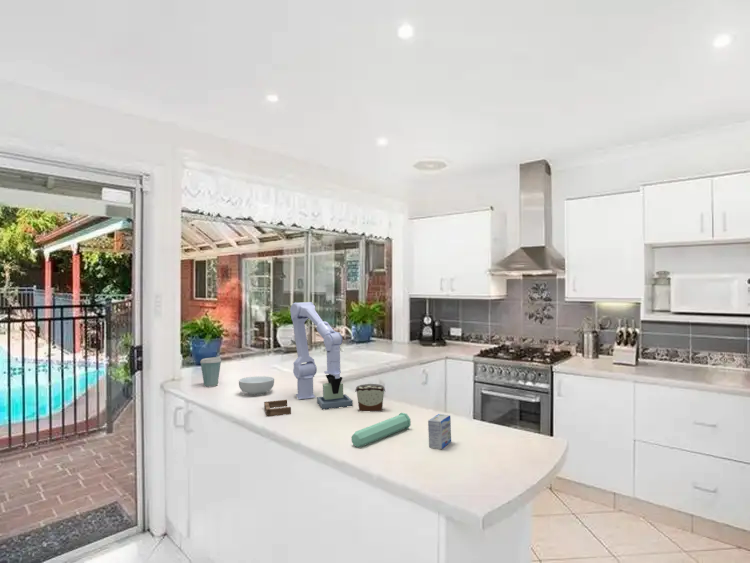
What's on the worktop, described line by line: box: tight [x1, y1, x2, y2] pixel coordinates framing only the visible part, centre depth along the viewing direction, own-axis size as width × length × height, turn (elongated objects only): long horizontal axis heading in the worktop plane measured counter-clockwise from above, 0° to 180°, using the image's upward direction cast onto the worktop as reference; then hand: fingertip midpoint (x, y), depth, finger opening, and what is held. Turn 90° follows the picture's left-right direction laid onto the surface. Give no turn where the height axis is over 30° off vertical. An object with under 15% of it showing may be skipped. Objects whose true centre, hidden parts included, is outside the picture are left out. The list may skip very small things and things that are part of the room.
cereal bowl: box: [238, 375, 275, 396], centre depth 217 cm, size 17×17×7 cm
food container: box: [354, 383, 386, 413], centre depth 183 cm, size 12×6×10 cm, turn 84°
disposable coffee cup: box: [199, 356, 222, 388], centre depth 236 cm, size 11×11×15 cm
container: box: [350, 412, 412, 448], centre depth 150 cm, size 6×6×25 cm
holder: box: [263, 399, 292, 417], centre depth 185 cm, size 14×10×2 cm
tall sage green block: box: [322, 382, 344, 400], centre depth 192 cm, size 4×8×6 cm, turn 108°
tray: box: [316, 393, 354, 410], centre depth 192 cm, size 12×13×2 cm
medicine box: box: [427, 413, 452, 450], centre depth 141 cm, size 8×4×9 cm, turn 148°
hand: (334, 392), depth 192 cm, fingers closed on tall sage green block, 4 cm apart
